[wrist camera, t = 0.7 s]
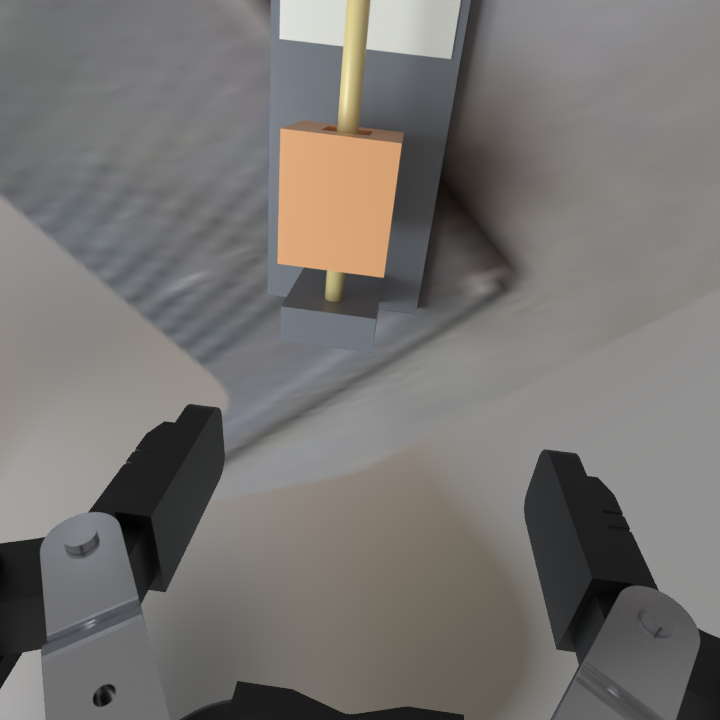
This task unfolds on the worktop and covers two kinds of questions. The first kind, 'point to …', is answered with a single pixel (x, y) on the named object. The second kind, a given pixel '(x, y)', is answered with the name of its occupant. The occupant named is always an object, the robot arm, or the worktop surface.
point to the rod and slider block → (350, 111)
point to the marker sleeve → (336, 197)
